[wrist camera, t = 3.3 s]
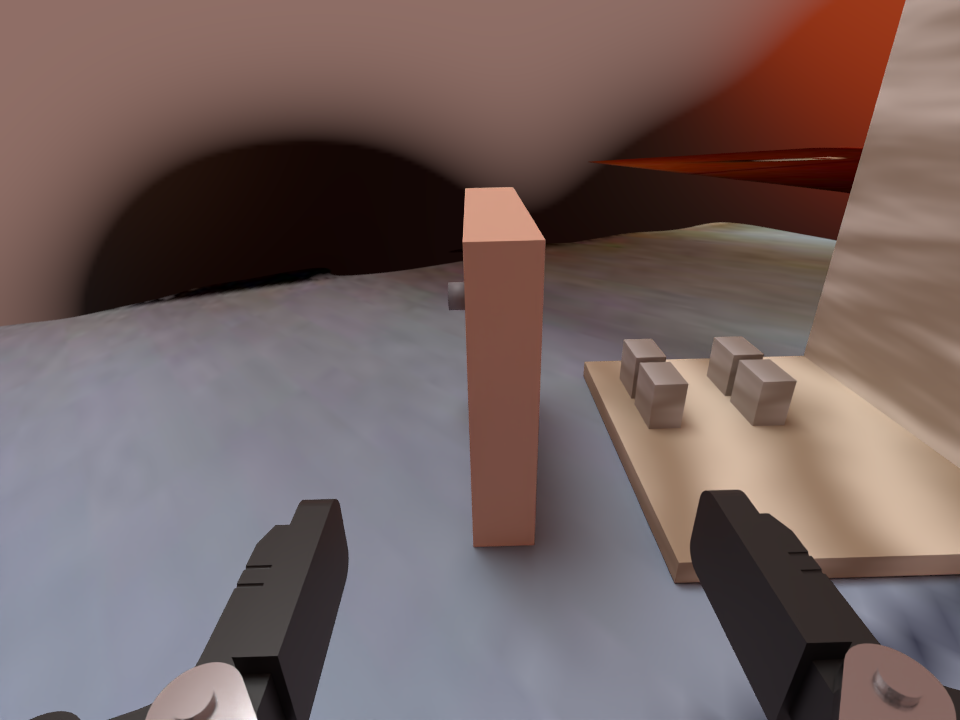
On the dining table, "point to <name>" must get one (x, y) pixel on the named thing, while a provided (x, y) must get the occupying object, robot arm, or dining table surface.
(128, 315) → the dining table surface
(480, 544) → the door
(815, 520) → the wooden bookend stand
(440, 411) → the dining table surface
